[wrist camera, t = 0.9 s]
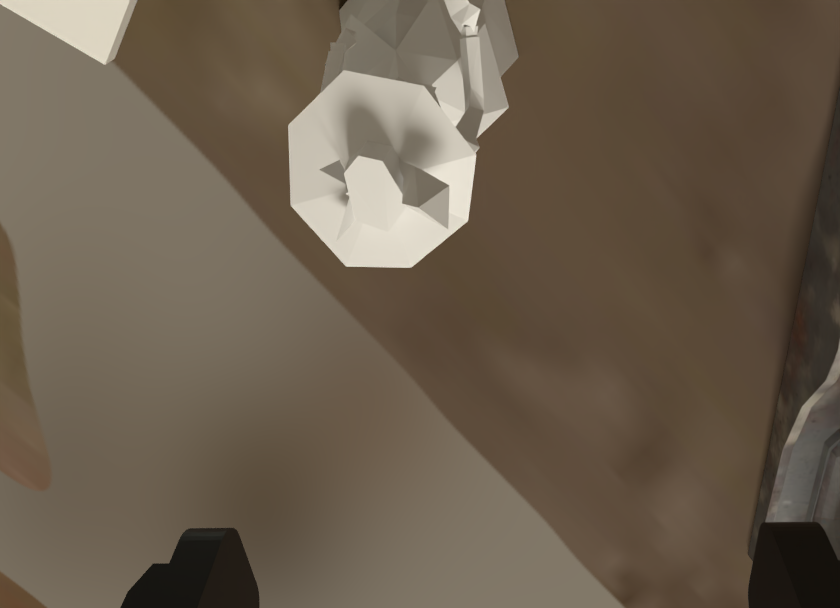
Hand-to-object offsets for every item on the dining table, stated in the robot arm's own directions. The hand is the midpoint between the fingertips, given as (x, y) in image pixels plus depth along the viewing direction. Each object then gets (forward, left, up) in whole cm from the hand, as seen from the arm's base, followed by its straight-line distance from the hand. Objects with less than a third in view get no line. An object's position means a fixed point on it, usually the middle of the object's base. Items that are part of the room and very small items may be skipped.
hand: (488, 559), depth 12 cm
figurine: (0, -3, -25) cm, 25 cm away
